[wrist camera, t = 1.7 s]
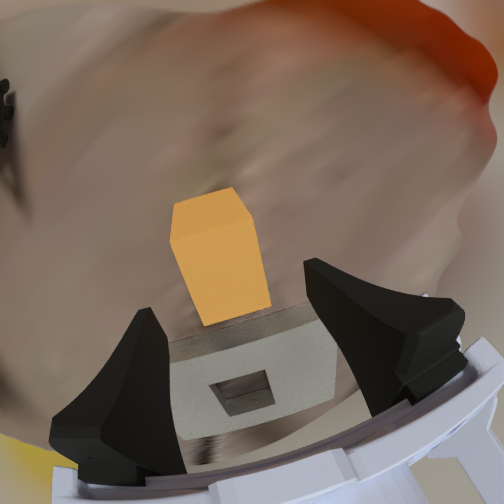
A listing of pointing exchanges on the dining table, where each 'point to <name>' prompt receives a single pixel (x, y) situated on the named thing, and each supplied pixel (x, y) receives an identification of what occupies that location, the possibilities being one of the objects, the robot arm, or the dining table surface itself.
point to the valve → (4, 112)
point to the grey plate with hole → (249, 361)
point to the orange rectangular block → (219, 256)
